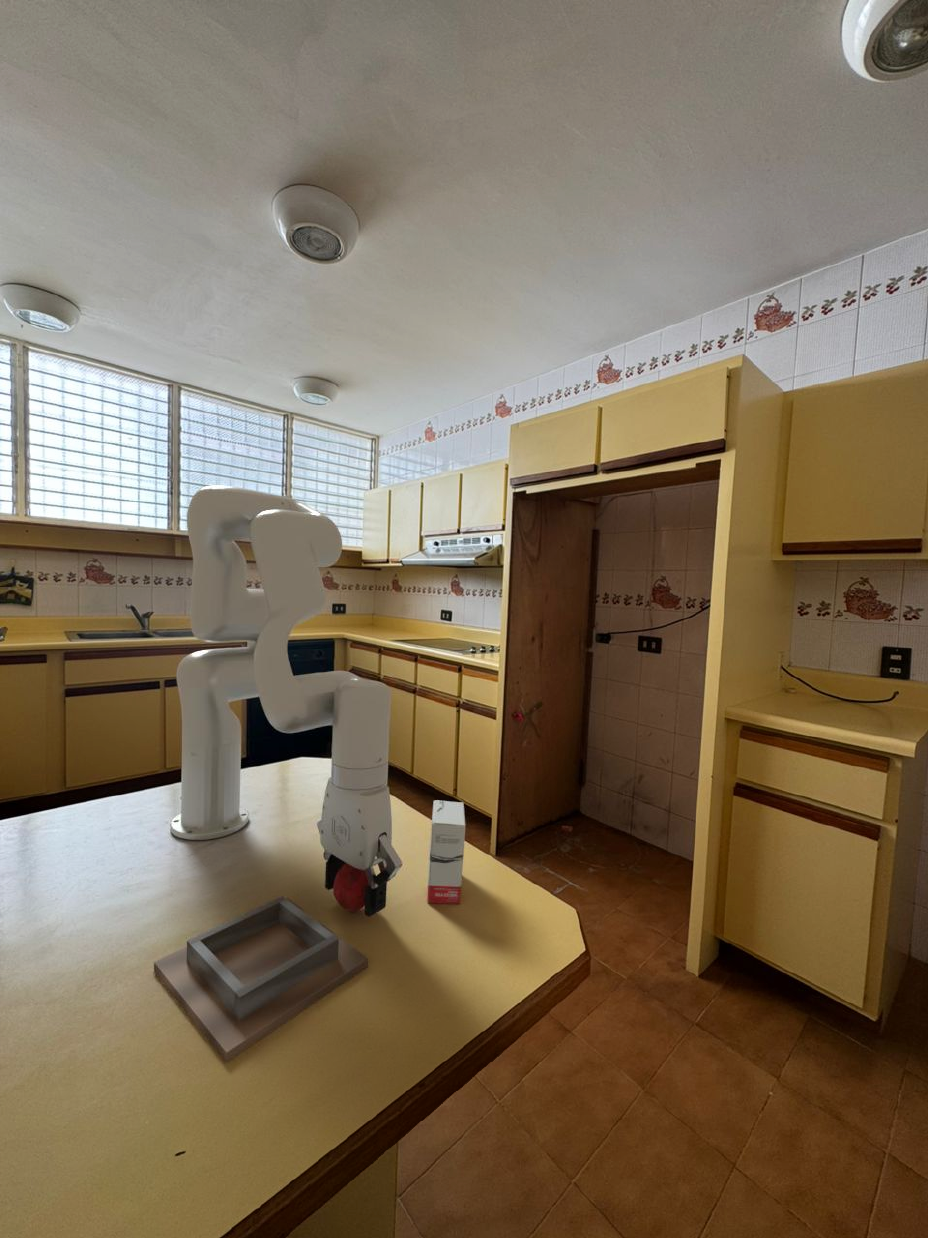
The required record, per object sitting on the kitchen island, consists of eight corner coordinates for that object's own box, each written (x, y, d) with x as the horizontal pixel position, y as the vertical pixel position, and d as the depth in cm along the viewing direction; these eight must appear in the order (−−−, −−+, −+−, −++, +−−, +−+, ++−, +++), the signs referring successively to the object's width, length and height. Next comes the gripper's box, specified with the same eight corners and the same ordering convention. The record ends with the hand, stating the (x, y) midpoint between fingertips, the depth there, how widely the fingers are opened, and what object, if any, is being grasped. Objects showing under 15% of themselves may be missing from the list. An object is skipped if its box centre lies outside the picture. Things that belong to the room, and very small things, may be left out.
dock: (153, 970, 60) (154, 941, 60) (287, 905, 73) (288, 880, 73) (226, 1062, 49) (227, 1027, 49) (368, 967, 62) (369, 938, 62)
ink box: (461, 905, 75) (465, 824, 75) (426, 904, 75) (430, 823, 74) (460, 872, 84) (464, 799, 83) (428, 871, 84) (432, 798, 83)
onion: (365, 928, 69) (368, 869, 69) (324, 920, 70) (326, 862, 70) (381, 902, 75) (383, 848, 74) (343, 895, 76) (345, 841, 76)
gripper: (298, 762, 74) (294, 883, 75) (381, 800, 63) (375, 941, 64) (342, 751, 80) (337, 864, 81) (425, 784, 69) (419, 913, 70)
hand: (354, 897), depth 73 cm, fingers open, 7 cm apart
